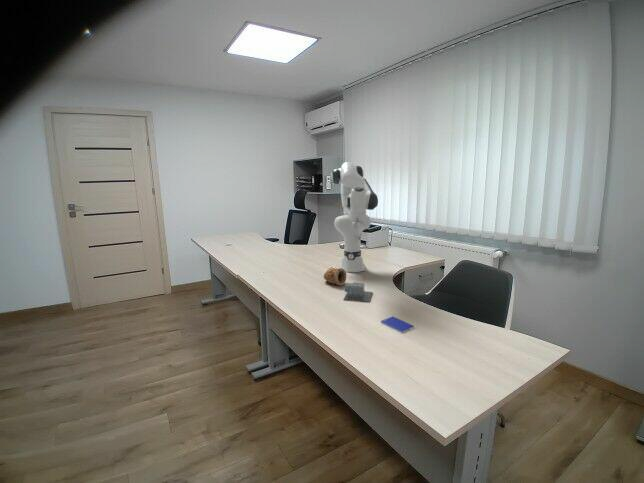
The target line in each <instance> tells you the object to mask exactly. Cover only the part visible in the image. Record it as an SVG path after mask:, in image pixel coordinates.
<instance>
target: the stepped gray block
mask: <svg viewBox="0 0 644 483" xmlns="http://www.w3.org/2000/svg"><path fill="white" fill-rule="evenodd" d="M364 291H365V282H364V283H363V282H345V283H344V292H345V293H347V292H352V297H358V298H363V296H364Z"/></svg>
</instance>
